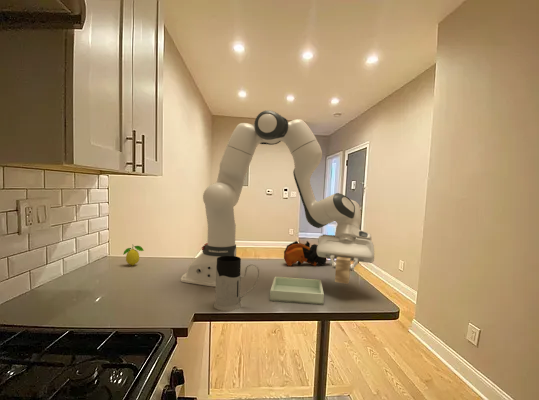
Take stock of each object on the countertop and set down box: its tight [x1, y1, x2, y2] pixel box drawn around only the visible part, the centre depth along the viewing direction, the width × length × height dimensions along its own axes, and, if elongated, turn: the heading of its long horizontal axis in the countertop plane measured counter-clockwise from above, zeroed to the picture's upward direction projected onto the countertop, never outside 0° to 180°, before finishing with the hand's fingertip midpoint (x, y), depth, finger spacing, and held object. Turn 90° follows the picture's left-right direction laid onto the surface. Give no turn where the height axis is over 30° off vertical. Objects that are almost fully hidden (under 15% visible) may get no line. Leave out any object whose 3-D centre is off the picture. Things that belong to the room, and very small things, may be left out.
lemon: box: [123, 245, 145, 267], centre depth 137 cm, size 7×6×10 cm
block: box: [334, 256, 352, 285], centre depth 105 cm, size 4×4×8 cm
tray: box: [269, 276, 325, 306], centre depth 107 cm, size 18×16×4 cm
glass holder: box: [213, 255, 260, 312], centre depth 95 cm, size 9×14×15 cm, turn 82°
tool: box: [283, 240, 330, 267], centre depth 148 cm, size 8×23×15 cm, turn 99°
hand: (342, 268), depth 104 cm, fingers closed on block, 4 cm apart
